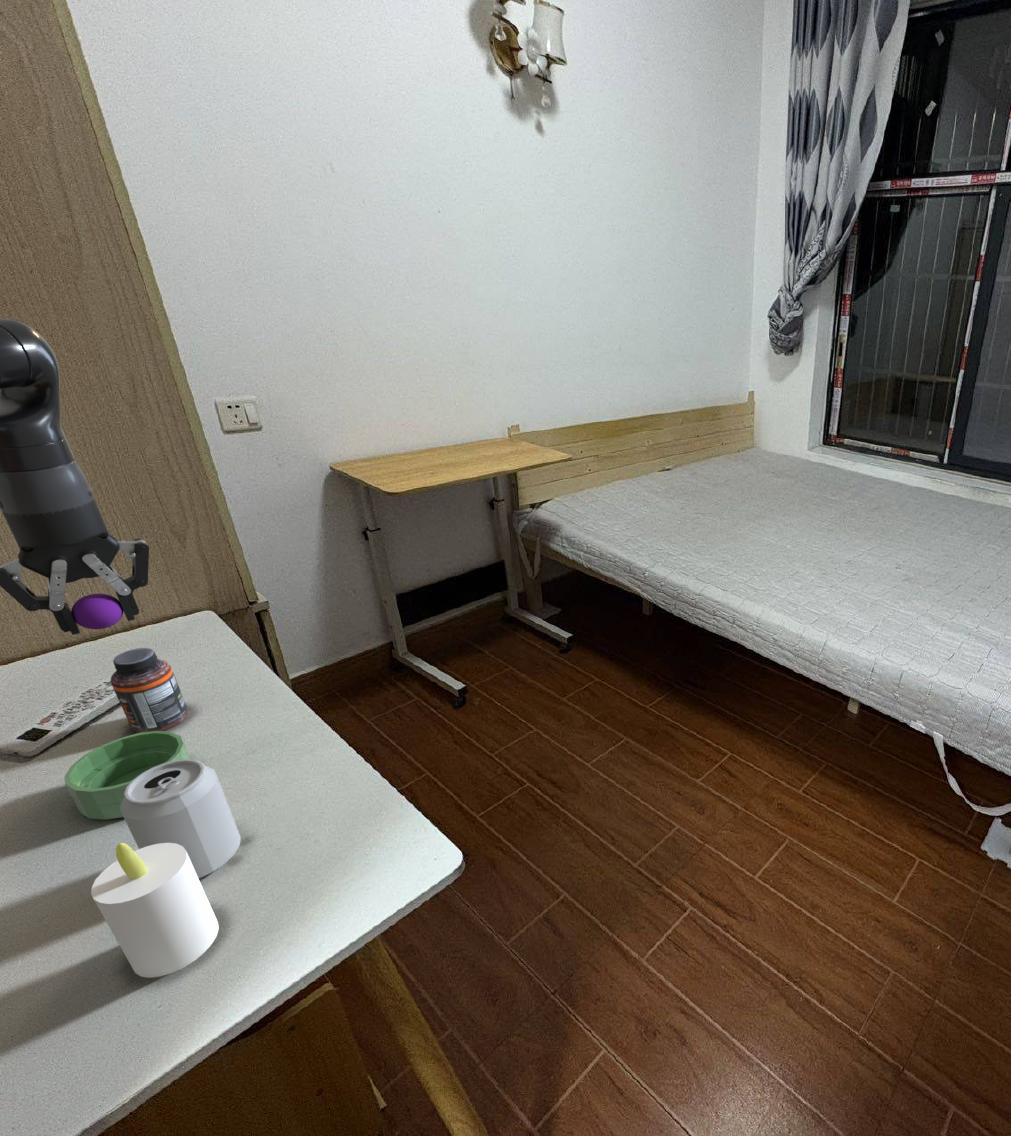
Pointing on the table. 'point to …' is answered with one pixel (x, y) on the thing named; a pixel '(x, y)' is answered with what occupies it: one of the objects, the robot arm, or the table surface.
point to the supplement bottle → (148, 691)
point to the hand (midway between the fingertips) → (103, 624)
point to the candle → (156, 908)
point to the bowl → (118, 770)
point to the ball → (97, 611)
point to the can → (182, 813)
